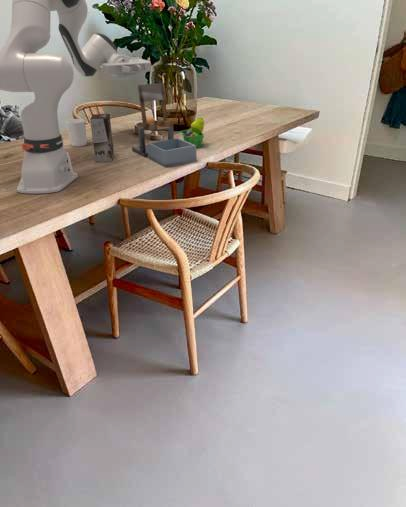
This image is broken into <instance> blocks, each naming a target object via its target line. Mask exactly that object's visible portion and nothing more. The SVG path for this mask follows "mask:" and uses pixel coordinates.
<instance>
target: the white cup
mask: <svg viewBox="0 0 406 507" xmlns="http://www.w3.org/2000/svg"><path fill="white" fill-rule="evenodd" d="M65 125H66V130H67V133H68V139H69V142H70V146H71V147H84V146H86V145H87V143H88V142H87V126H86V120H85V119H84V118H74V119H73V118H71V119H67V120H66V121H65Z"/></svg>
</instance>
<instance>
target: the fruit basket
mask: <svg viewBox="0 0 406 507" xmlns="http://www.w3.org/2000/svg"><path fill="white" fill-rule="evenodd" d="M204 125H205V121H204V118H202V117H201V116H200V117H197V118H196V120H194V121H193V122H192V123H191V124H190V128H189V129H188V130H187V129H185V130H181V134H182V136H183V140H184V141H187V142H189V143H192V144H194V145H196V148H201V147H202V145H203V144H202V143H203V140H204V137H205V135H204V134H203V131H204V128H205V127H204Z"/></svg>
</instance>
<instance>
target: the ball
mask: <svg viewBox="0 0 406 507" xmlns="http://www.w3.org/2000/svg"><path fill="white" fill-rule="evenodd" d="M146 120H147V123H152V124H154V123H155V121H154V120H155V119H154V117H152V116H146Z"/></svg>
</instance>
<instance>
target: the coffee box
mask: <svg viewBox="0 0 406 507" xmlns="http://www.w3.org/2000/svg"><path fill="white" fill-rule="evenodd" d="M89 121H90V130H91V137H92V143H93V151H94V152H93V154H94V160H95V162H96V163H97V162H99V163H100V162H112V161H113V158H114V155H115V150H114V142H113V134H112V126H111V114H110V113H98V114H94V113H93V114H92V116H91V117H90V118H89Z"/></svg>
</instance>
